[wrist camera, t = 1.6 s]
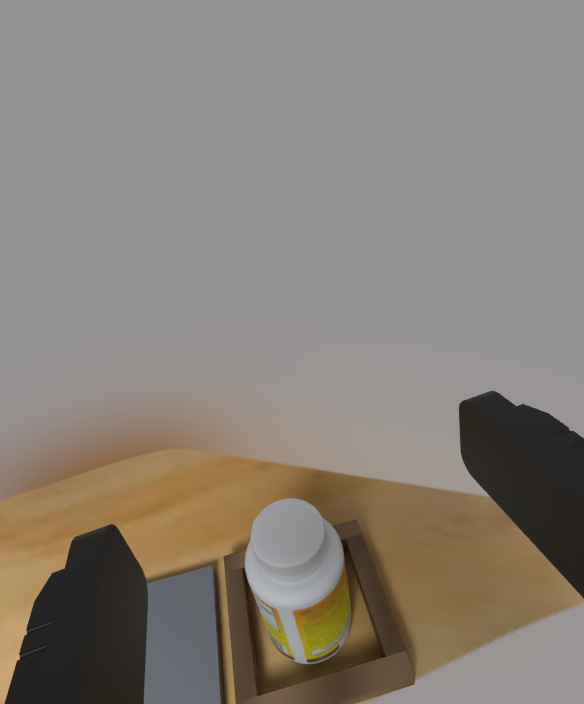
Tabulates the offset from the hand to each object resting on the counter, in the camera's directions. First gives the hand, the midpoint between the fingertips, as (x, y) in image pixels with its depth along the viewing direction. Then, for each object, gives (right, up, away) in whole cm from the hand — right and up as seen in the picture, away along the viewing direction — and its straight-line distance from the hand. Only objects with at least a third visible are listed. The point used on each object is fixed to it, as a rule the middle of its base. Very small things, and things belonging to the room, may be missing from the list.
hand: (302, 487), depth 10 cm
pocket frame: (+1, -14, +19) cm, 24 cm away
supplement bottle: (+1, -15, +19) cm, 24 cm away
